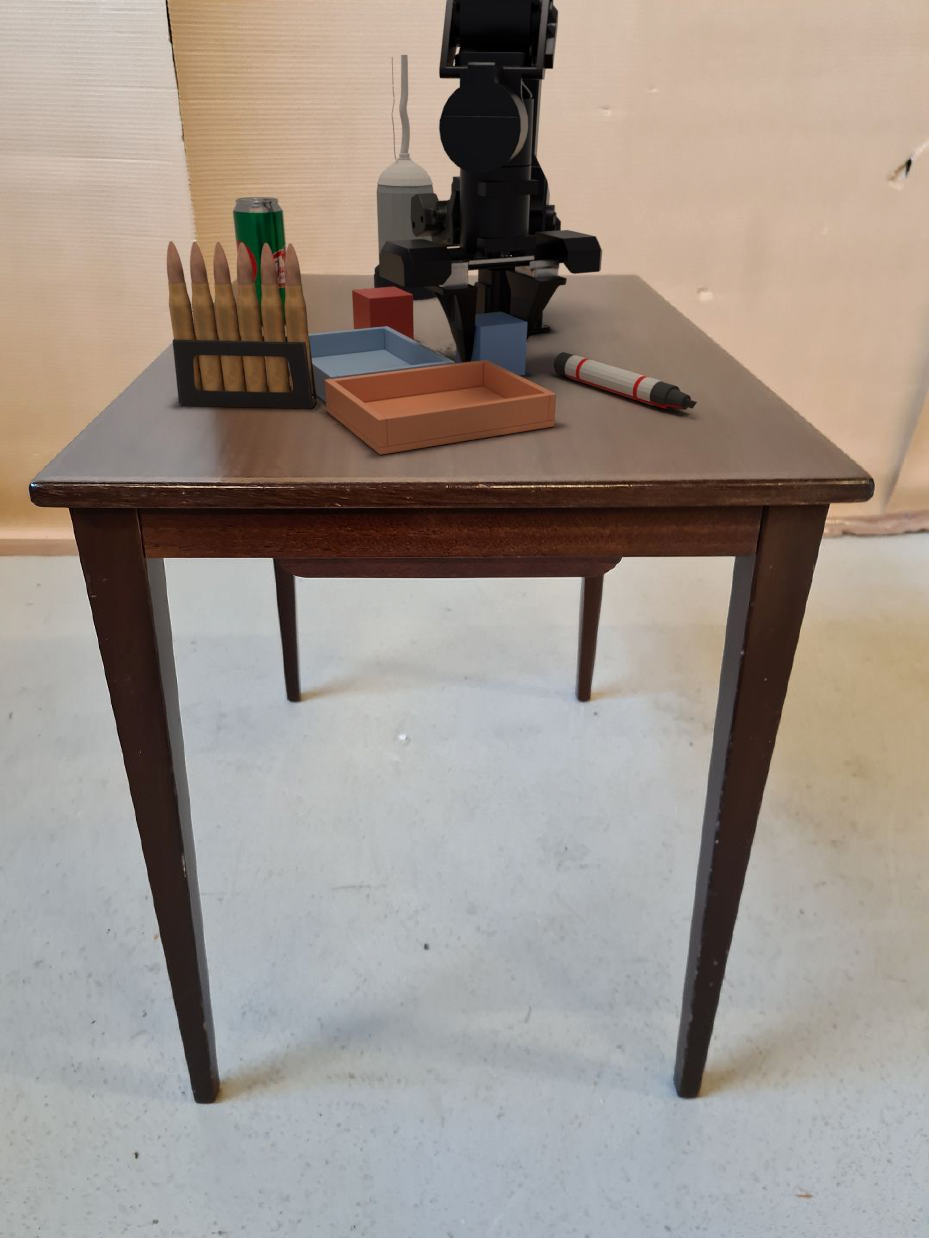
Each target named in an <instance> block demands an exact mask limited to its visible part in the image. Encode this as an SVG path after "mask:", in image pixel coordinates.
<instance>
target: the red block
mask: <svg viewBox="0 0 929 1238" xmlns="http://www.w3.org/2000/svg"><path fill="white" fill-rule="evenodd" d="M351 298H352V317H353V319H352V320H353V330H354V329H364V328H374V327H384V326H388V327H390V328H392V329H393V330H395V331H397V332H399V333H401V334H403V335H405V336H407V337H409V338H411V339H412V340H414V341H415V333H414V332H415V331H414V330H415V328H414V327H415V325H414V300H413V294H410V293H408V292H406V291H403V290H401V289H399V288H396V287H382V288H374V287H372V288H371V287H370V288H361V289H360V288H359V289H351Z"/></svg>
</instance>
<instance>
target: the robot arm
mask: <svg viewBox="0 0 929 1238" xmlns="http://www.w3.org/2000/svg"><path fill="white" fill-rule="evenodd" d="M558 27H559V10H558V9H557V8H556V6H555V5H554V0H446V2H445V11H444V21H443V29H442V30H443V31H442V38H441V39H442V40H441V49H440V57H439V65H438V66H439V68H438V76H439V78H440V79H442V80H443V79H446V80H447V79H448V80H449V79H450V80H452V79H453V80H456V79H457V80H459V87H458V88H456V89H455V90H454V91H453V92H452V93H451V94H450V95H449V97H448V98H447V100H446V102H445V103H444V105H443V108H442V111H441V114H440V117H439V121H438V123H439V124H438V131H439V139H440V142H441V146H442V148H443V151H444V152H445V154H446V156H447V157H448V159H449V160H450V161H451V162H452V163H454V165H455V166H456V167H457V168H459V176H456V175H455V176H452V182H451V185H450V187H451V188H450V196H449V199H447V200H440V199H439V198H438V194H437V193H435V192H434V193H424V194H416V195H414V196H413V197H412V198H411V225H412V232H413V234H414V235H415V236H416V237H425V236H431V239H432V241H429V240H425V239H413V240H397V241H386V242H385V244H384V246H383V247H382V249H381V252H380V254H379V253H378V264H379V274H380V277H382V278H385V279H387V280H389V281H392V282H394V283H396V284H399V285H401V286H403V287H413V288H415V287H425V288H427V289H430V290H432V291H433V293H434V294H435V295H436V297H435V298H437V300H438V302H439V304H440V306H441V308H442V310H443V312H444V315H445V317H446V320H447V323H448V326H449V329H450V332H451V336H452V338H453V341H454V343H455V348H456V347H457V350H458V353H459V356H460V359H461V361H462V363H464V362H471V358H472V353H473V347H474V334H475V319H476V314H484V313H494V312H503V313H506V314H508V315H511V316H513V317H516V318H518V319H521V320H523V321H526V322H527V342H526V344H527V343H528V341H529V339H530V337H531V335H532V334H533V333H542V332H549V331H551V325H550V324H547V323H545V322H544V321H543V320H544V310H545V309H546V307H547V305H548V304H549V302H550V301H551V299H552V297H553V296H554V294H556V293H555V292H556V291H557V290H558V288H559V287H561V286H565V285H567V280H568V278H567V277H564V276H561V275H559V270H560V264H563V265H564V266H565V268H566V269H567V271H569V273H570V274H573V275H577V274H589V273H590V274H591V273H600V272H601V271H602V260H603V248H602V246H601V244H600V241H599V240H598V238H597V236H596V235H592V234H587V233H583V232H579V231H575V230H570V229H562V220H561V219H560V218H559V217H558V215H557V212H556V205H555V204H550V200H551V199H550V198H551V195H550V194H551V193H550V186H549V182H548V178H547V176H546V175H545V172H544V171H543V168H542V166H541V164H540V162H539V160H538V145H539V129H540V116H541V115H540V114H541V102H542V101H541V98H542V87H543V86H542V84H543V81H544V80H545V78H546V71H547V70H553V69H554V63H555V54H556V45H557V37H558ZM458 48H459V49H458ZM457 49H458V53H457ZM469 271H477V281H475V282H474V284H471V283H469Z"/></svg>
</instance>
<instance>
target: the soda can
mask: <svg viewBox="0 0 929 1238" xmlns="http://www.w3.org/2000/svg"><path fill="white" fill-rule="evenodd" d="M234 202H235V205H234V207H233V210H232V219H233V228H234V236H235V237H234V238H235V245H236V255H238V248H239V245H240V243H241V242H242V243H244V245H245V247H246V249H247V251H248V254H249V257H250V261H251V265H252V270H253V277H254V283H255V289H256V295H257V298H258V302H259V307H260V316H261V325H262V326H263V322H262V312H261V300H262V288H261V284H262V282H261V256H262V250H263V246H264V244H265V243H267V244H268V245H269V247H270V249H271V252H272V255H273V258H274V262H275V266H276V272H277V280H278V285H279V293H280V297H281V301H282V305H283V314H284V324H286V319H285V296H286V294H285V257H286V251H287V238H286V228H285V227H286V226H285V216H284V214H285V213H284V210H283V208H282V207H281V205H280V203H279V202H280V200H279V198H276V197H269V196H248V197H247V196H246V197H245V196H244V197H239V198H236V199H235V200H234Z"/></svg>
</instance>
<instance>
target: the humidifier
mask: <svg viewBox="0 0 929 1238" xmlns="http://www.w3.org/2000/svg"><path fill="white" fill-rule="evenodd" d="M408 57H409V56H408V54H400V99H399V105H398V112H399V117H400V122H401V144H400V153H398V158H397V155H396V141H395V140H396V135H395V123H394V117H393V116H394V115H393V113H394V108H395V100H393V104H392V110H391V122H392V131H393V132H392V134H393V154H394V155H393V156H394V159H395V161H394V162H392V163H391V164H388V166H387V167H385V169H383V170H382V172H381V173H380V175H379V176H378V179H377V182H376V184H377V186H376V212H377V213H376V214H377V215H376V216H377V243H378V255H379V254H380V252H381V249H382V247H383V246H384V244H385V242H386V241H397V240H413V239H425V240H429V241H432V239H431V236H425V237H416V236H415V235H414V234H413V232H412V225H411V198H412V197H413V196H414V195H416V194H424V193H435V191H434V183H433V181H432V178H431V175H429V174H428V172H427V171H426V169H424V167H422V166H421V165H420V164H419V163H417V162H415V161H414V160H412V158H411V157H410V156H411V155H410V153H409V149H410V139H411V125H410V120H409V114H408V100H409V66H408V65H409V59H408ZM393 62H394V57H393V56H392V57H391V77H392V78H391V81H392V84H394V63H393ZM394 89H395V87H392V96H393V97H395V91H394ZM373 285H374V286H373V288H382V287H396V288H399V289H401V290H403V291H406V292H408V293H410V294H413V301H414V300H426V299H431V298H437V297H436V295H435V294H434V293H433V291H432V290H430V289H427V288H425V287H415V288H413V287H403V286H401V285H399V284H396V283H394V282H392V281H389V280H387V279H385V278H382V277H380V274H379V263H378V264H377V265H376V266H375V267H374V273H373Z"/></svg>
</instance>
